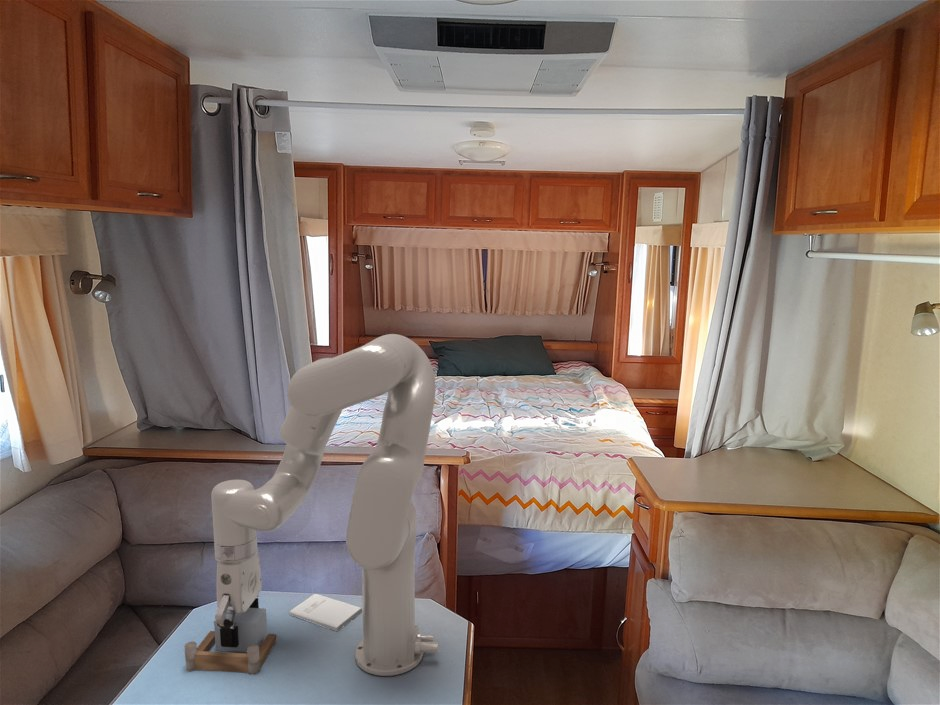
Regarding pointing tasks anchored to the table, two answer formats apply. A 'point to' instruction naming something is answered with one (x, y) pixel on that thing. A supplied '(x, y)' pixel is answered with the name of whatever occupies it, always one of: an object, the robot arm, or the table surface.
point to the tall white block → (246, 629)
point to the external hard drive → (326, 611)
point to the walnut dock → (226, 656)
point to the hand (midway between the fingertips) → (240, 631)
